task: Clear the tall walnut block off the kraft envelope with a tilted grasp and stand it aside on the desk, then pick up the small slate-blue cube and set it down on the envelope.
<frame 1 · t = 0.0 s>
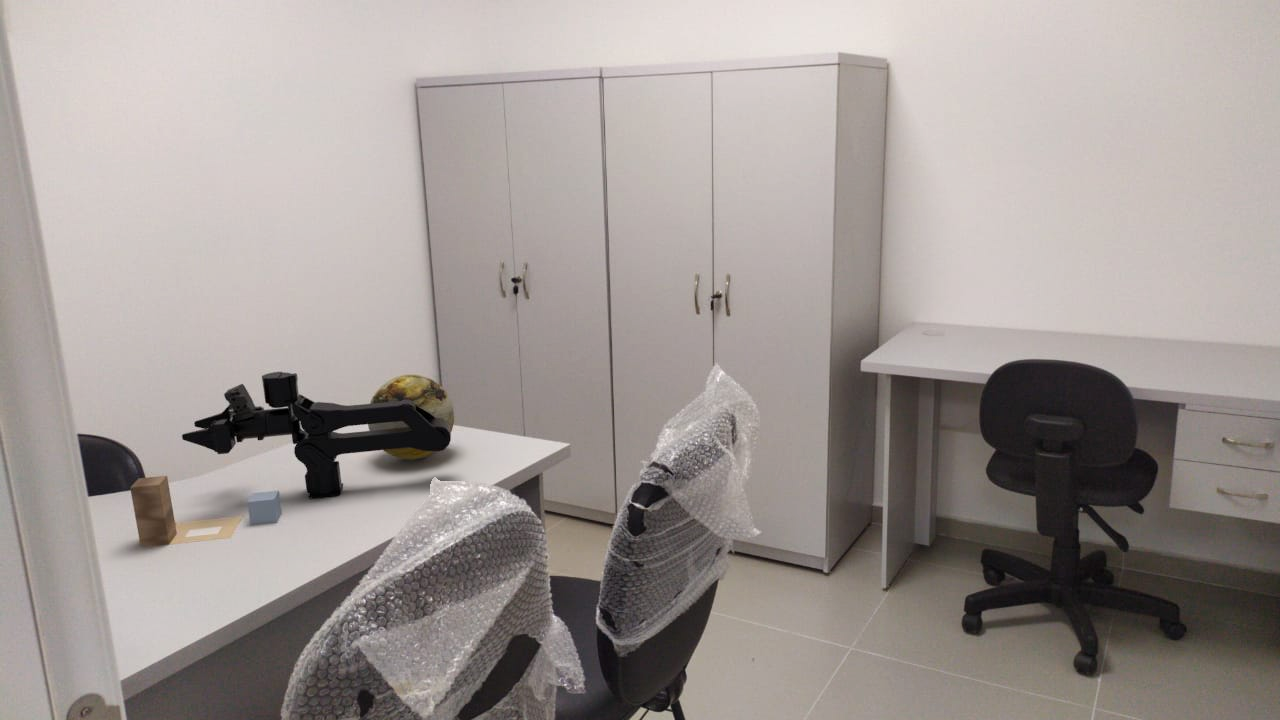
hand: (188, 430, 190), 17 cm above the table, tool horizontal, fingers open, 9 cm apart
decorative sphere: (415, 458, 219), on the table
slate-blue cube: (266, 519, 185), on the table
walnut block: (159, 540, 176), resting on kraft envelope
kraft envelope: (194, 532, 180), on the table
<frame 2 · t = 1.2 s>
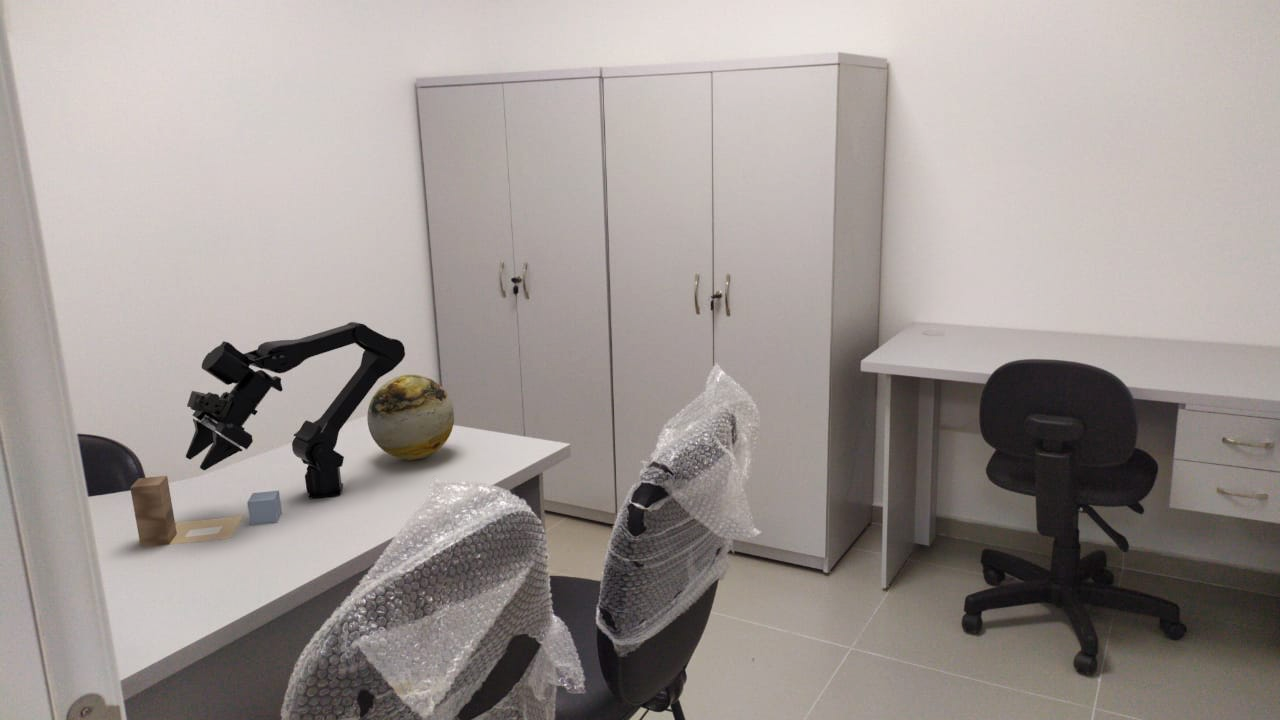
hand: (194, 463, 178), 13 cm above the table, tool tilted 45°, fingers open, 9 cm apart
nothing on the table moved.
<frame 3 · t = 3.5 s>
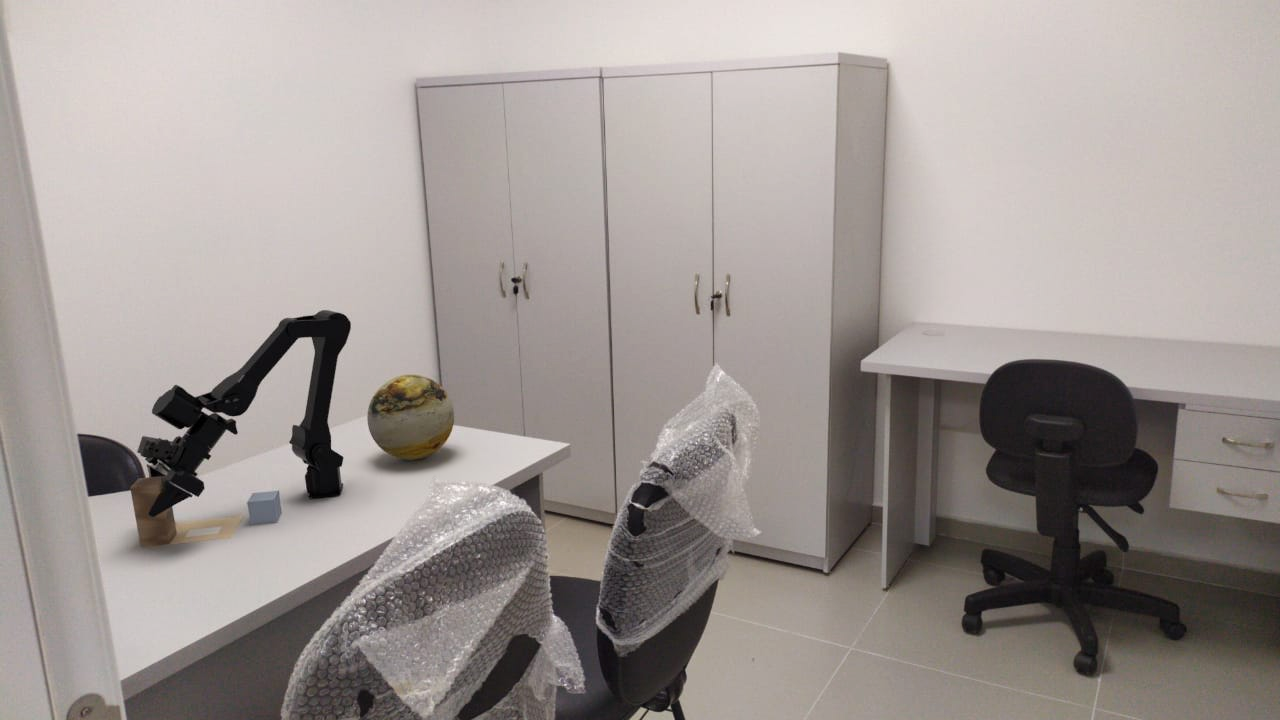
hand: (145, 510, 174), 7 cm above the table, tool tilted 45°, fingers closed on walnut block, 7 cm apart
walnut block: (159, 540, 176), resting on kraft envelope, touching gripper
everything else where it was.
when the fingers open (8 cm above the table, at t = 8.3 s): walnut block drops 1 cm, on the table.
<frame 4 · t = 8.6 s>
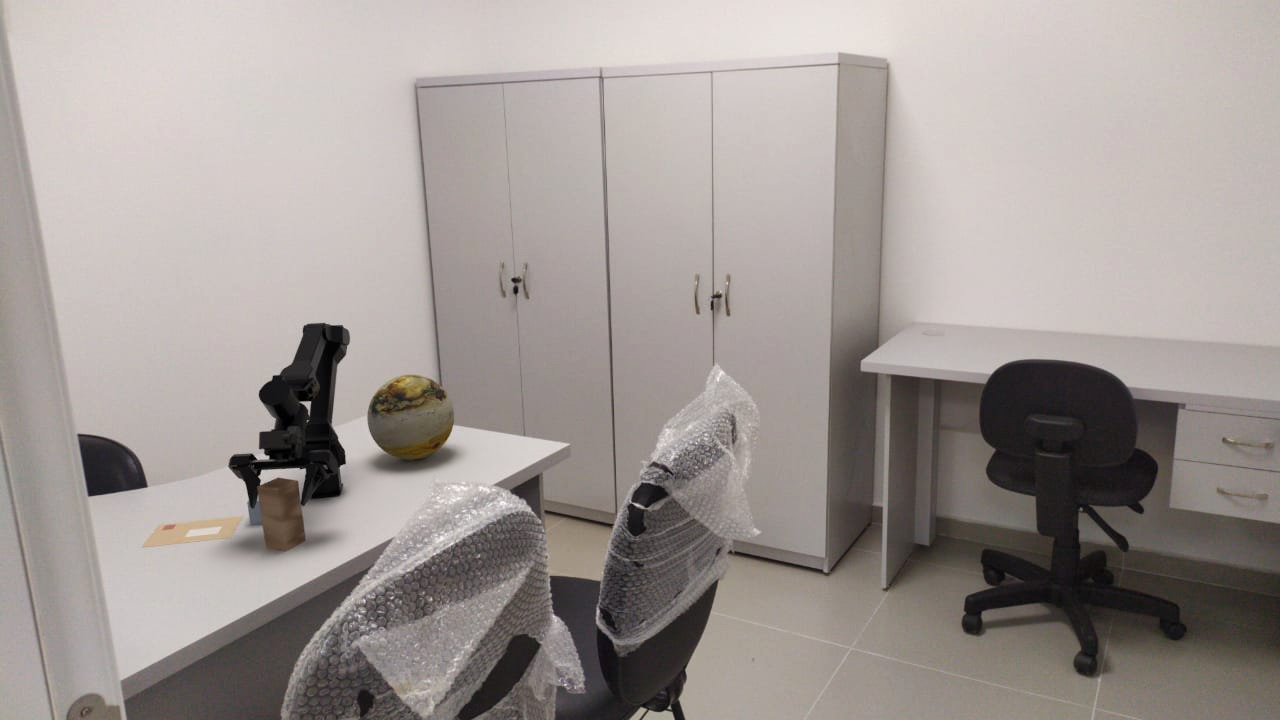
hand: (277, 506, 169), 8 cm above the table, tool tilted 45°, fingers open, 9 cm apart
walnut block: (286, 543, 173), on the table
everything else where it was.
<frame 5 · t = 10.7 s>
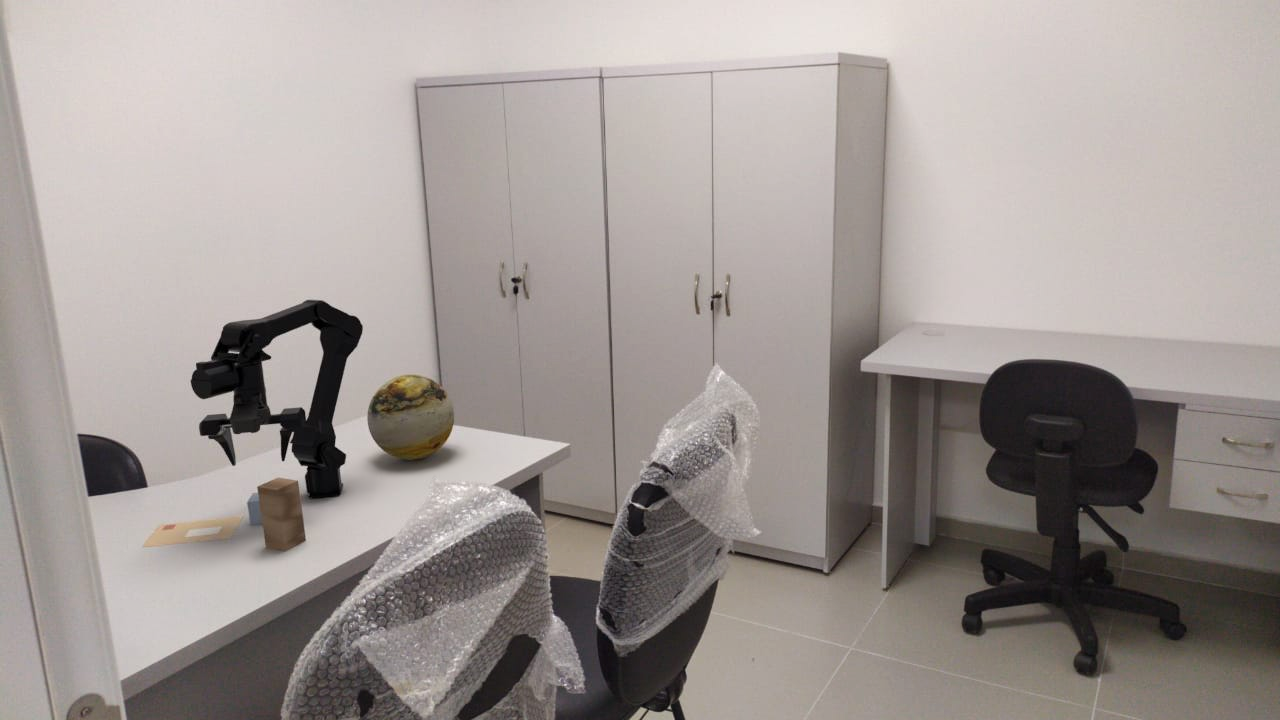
hand: (259, 463, 182), 12 cm above the table, tool pointing down, fingers open, 9 cm apart
nothing on the table moved.
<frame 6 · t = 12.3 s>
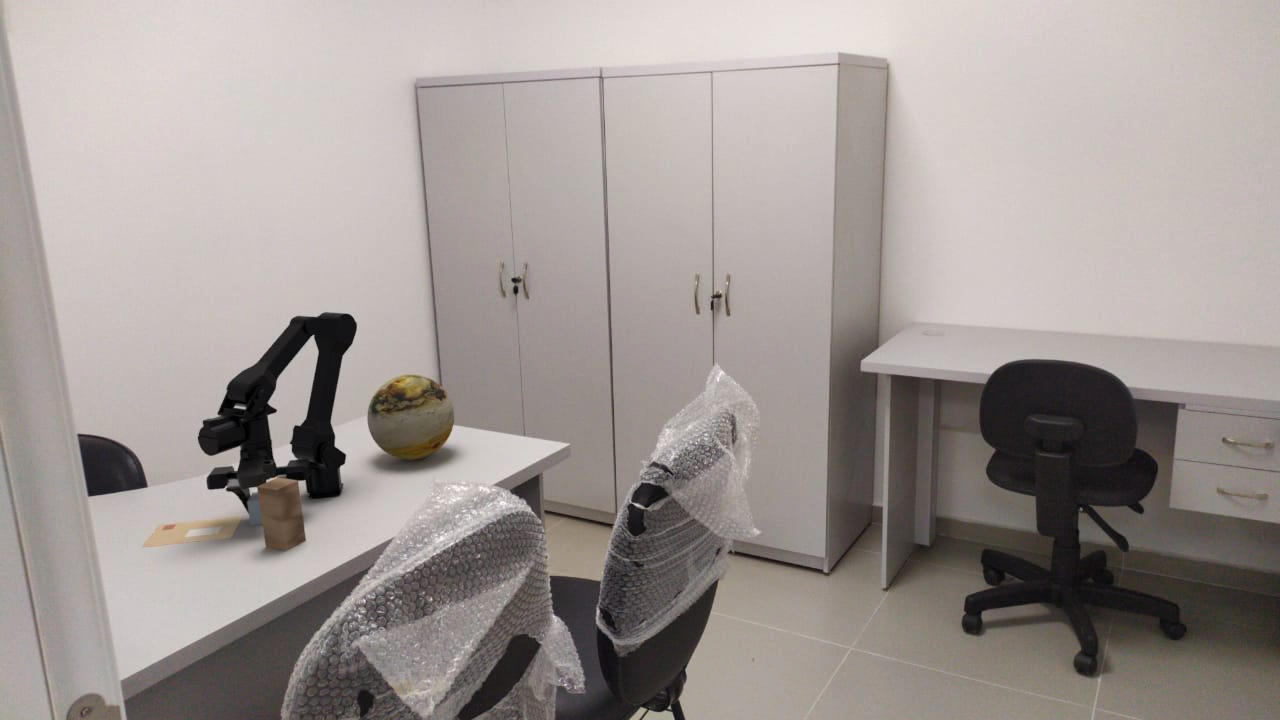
hand: (265, 514, 185), 1 cm above the table, tool pointing down, fingers closed on slate-blue cube, 5 cm apart
slate-blue cube: (266, 519, 185), on the table, touching gripper
everything else where it was.
when the fingers open (2 cm above the table, at t = 16.3 s): slate-blue cube drops 1 cm, resting on kraft envelope.
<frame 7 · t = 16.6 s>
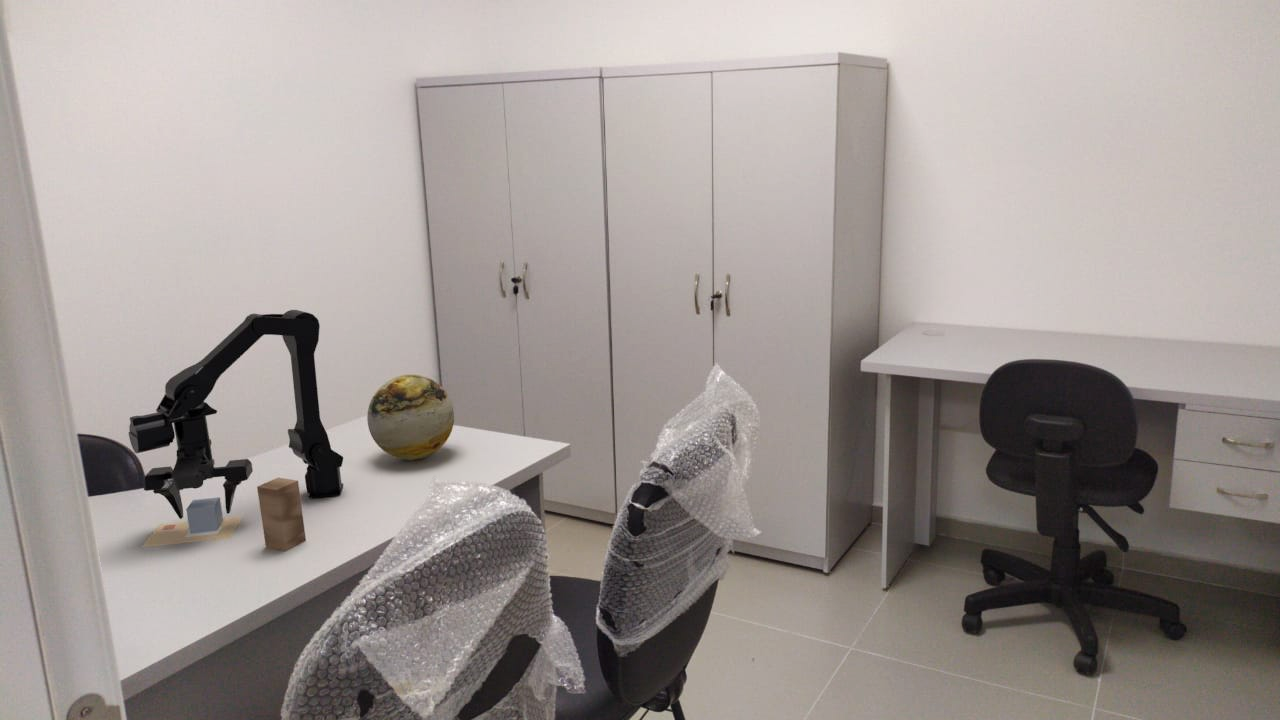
hand: (205, 515, 181), 2 cm above the table, tool pointing down, fingers open, 8 cm apart
slate-blue cube: (207, 526, 182), resting on kraft envelope
everything else where it was.
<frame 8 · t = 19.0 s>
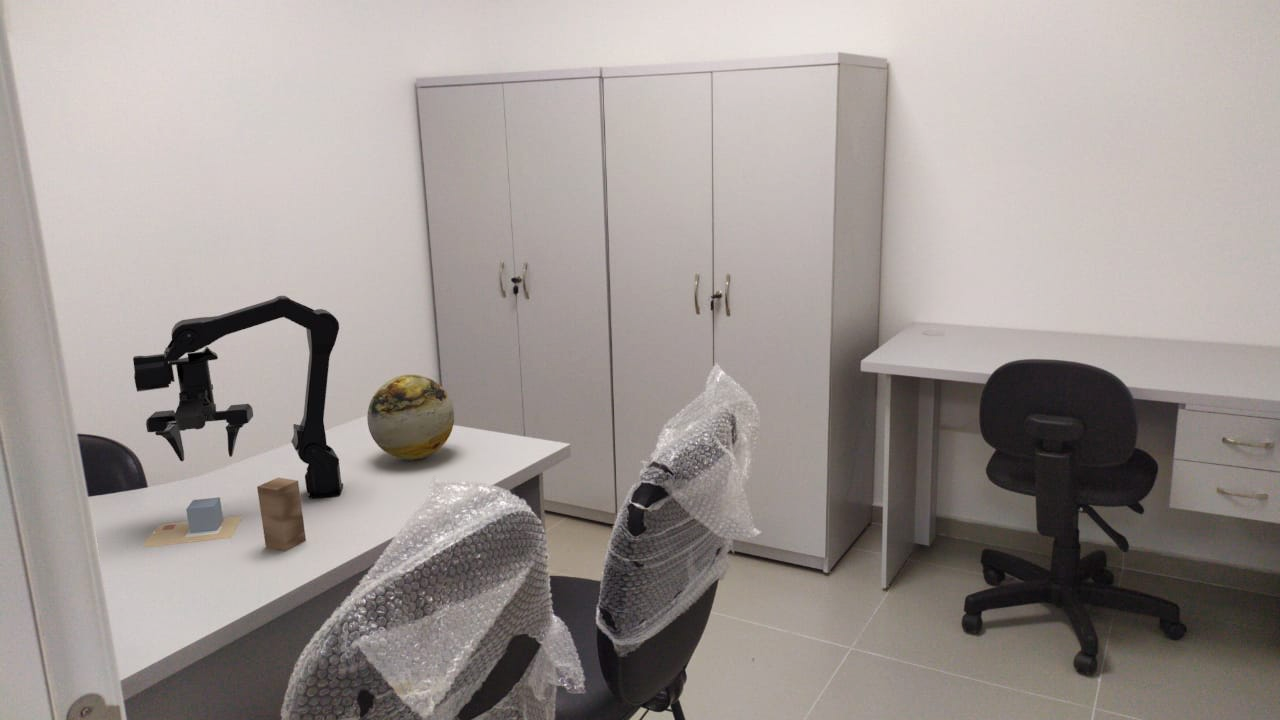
hand: (206, 458, 186), 12 cm above the table, tool pointing down, fingers open, 9 cm apart
nothing on the table moved.
at the end: slate-blue cube inside the target area (2.4 cm from its centre), resting on kraft envelope; walnut block touching table; walnut block tilted 0° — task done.
